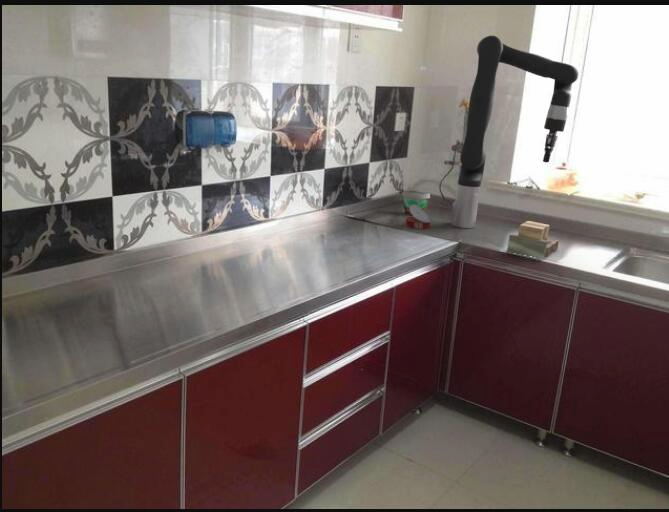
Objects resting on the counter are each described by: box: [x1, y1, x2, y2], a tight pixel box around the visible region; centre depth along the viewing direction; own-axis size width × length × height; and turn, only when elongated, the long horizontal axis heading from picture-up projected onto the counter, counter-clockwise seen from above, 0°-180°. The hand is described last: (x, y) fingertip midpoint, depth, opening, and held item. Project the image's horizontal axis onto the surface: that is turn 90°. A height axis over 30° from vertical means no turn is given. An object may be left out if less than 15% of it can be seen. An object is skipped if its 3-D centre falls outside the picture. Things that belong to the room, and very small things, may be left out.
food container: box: [401, 190, 431, 216], centre depth 280 cm, size 12×6×10 cm, turn 81°
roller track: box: [506, 233, 560, 260], centre depth 236 cm, size 20×13×6 cm, turn 147°
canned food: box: [405, 204, 431, 230], centre depth 260 cm, size 11×10×10 cm
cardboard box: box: [517, 220, 551, 241], centre depth 232 cm, size 10×8×7 cm
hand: (545, 162), depth 255 cm, fingers closed
